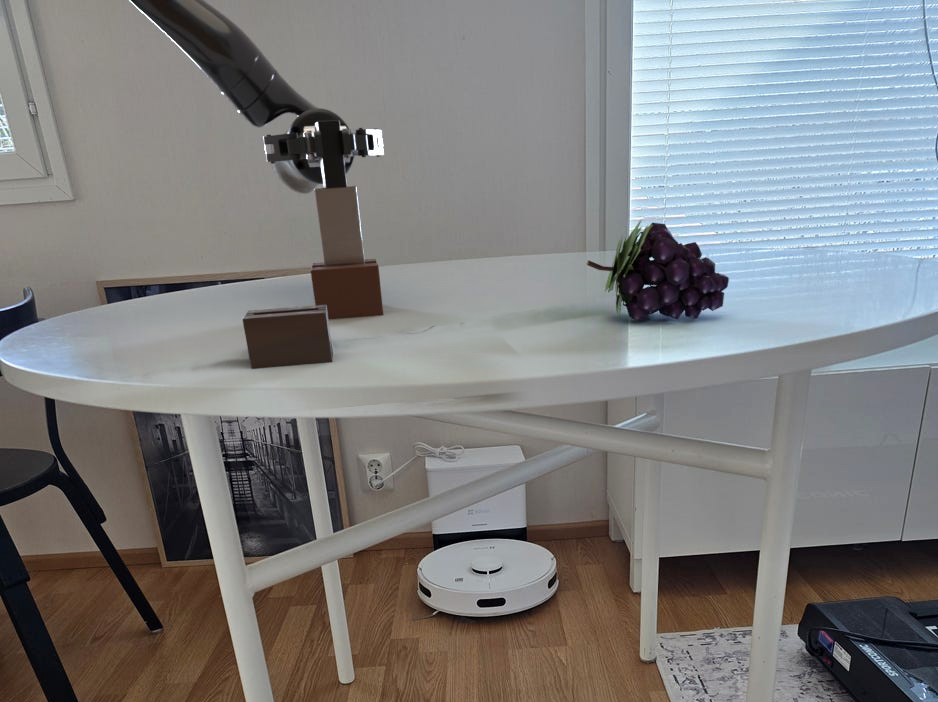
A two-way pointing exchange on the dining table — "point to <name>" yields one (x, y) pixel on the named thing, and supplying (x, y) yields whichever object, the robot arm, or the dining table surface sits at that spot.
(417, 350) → the dining table surface
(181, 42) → the robot arm
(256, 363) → the knife block
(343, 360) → the dining table surface
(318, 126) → the knife
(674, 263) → the fruit
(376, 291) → the slotted brown box
